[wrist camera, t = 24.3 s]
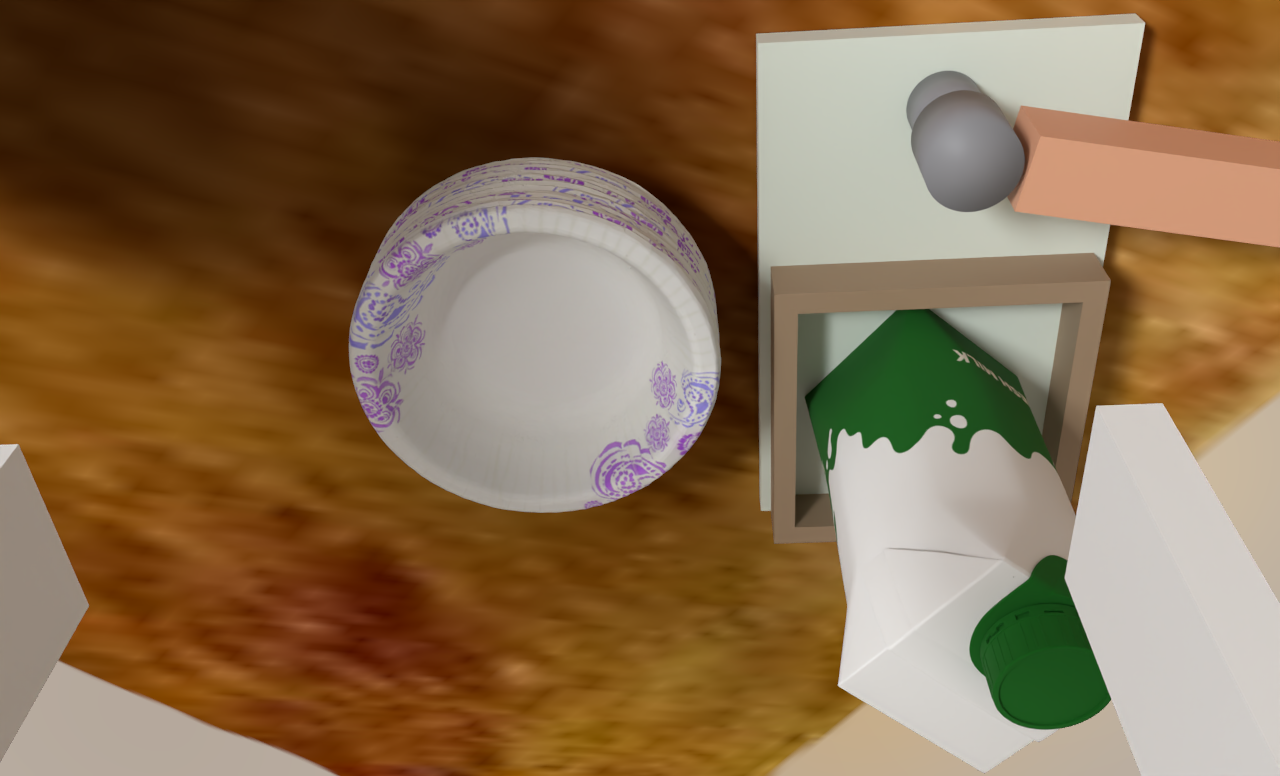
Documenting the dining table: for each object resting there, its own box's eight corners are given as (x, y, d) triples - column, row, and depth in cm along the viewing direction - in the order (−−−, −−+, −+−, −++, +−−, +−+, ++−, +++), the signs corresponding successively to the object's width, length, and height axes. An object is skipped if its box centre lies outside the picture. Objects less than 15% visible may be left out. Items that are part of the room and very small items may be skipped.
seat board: (759, 495, 62) (764, 545, 59) (756, 33, 49) (761, 65, 45) (1055, 486, 61) (1076, 535, 58) (1135, 13, 48) (1168, 44, 45)
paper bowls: (672, 442, 60) (671, 549, 54) (368, 382, 59) (330, 485, 52) (755, 167, 52) (767, 254, 45) (403, 88, 50) (363, 166, 44)
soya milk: (1045, 373, 56) (1201, 710, 39) (906, 491, 60) (994, 841, 43) (911, 268, 53) (1018, 585, 36) (774, 400, 57) (814, 738, 41)
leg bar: (900, 171, 47) (913, 205, 45) (924, 84, 45) (939, 113, 43) (1325, 229, 48) (1361, 265, 46) (1368, 146, 46) (1407, 178, 44)
